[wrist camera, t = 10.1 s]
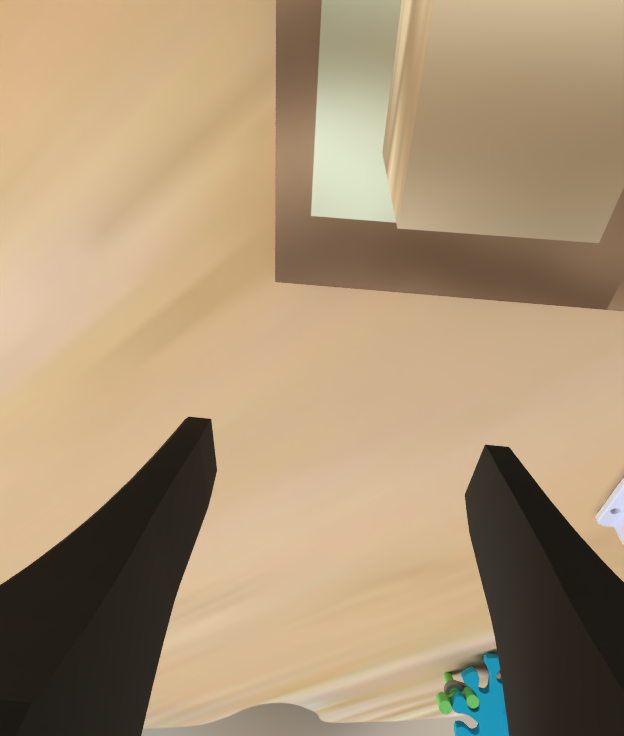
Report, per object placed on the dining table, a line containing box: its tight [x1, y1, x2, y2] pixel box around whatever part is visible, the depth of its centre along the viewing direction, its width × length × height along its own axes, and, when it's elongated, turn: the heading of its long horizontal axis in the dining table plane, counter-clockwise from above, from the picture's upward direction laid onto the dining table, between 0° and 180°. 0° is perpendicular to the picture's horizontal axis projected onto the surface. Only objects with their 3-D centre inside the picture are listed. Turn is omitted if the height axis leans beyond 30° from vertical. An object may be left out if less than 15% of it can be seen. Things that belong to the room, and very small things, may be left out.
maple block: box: [382, 0, 624, 243], centre depth 11 cm, size 4×4×7 cm
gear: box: [436, 653, 509, 736], centre depth 40 cm, size 11×6×10 cm
